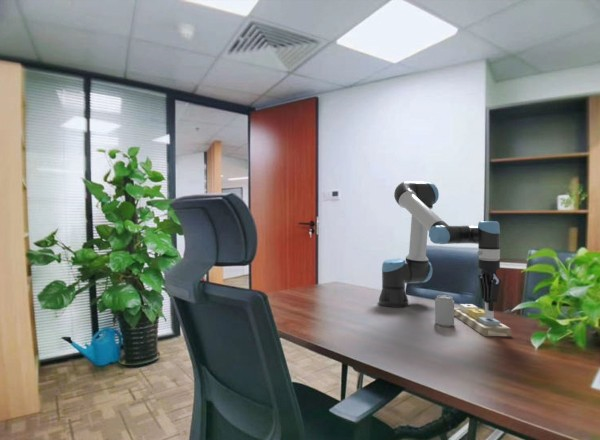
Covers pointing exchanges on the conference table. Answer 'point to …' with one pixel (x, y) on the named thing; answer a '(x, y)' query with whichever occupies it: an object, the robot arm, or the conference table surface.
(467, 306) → the tile
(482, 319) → the tile
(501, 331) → the frame
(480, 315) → the tile
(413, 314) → the conference table surface
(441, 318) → the can
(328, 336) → the conference table surface
